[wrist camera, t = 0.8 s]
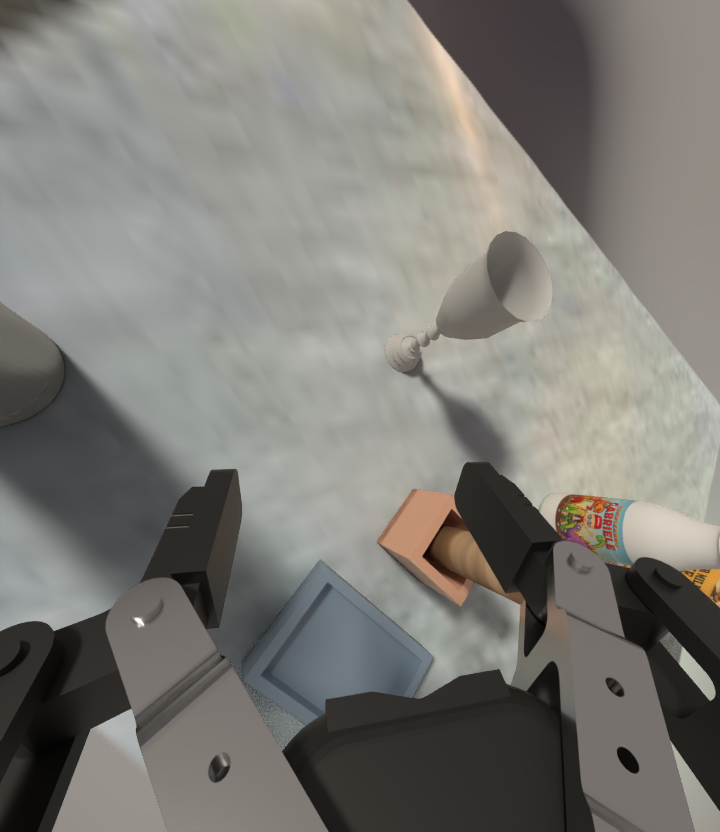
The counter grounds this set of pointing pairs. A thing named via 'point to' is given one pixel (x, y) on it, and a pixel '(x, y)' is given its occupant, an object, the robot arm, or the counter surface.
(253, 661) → the slate tray
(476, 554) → the walnut dowel
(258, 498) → the counter surface
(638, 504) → the milk bottle
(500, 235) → the chalice
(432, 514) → the terracotta cup
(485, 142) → the counter surface
